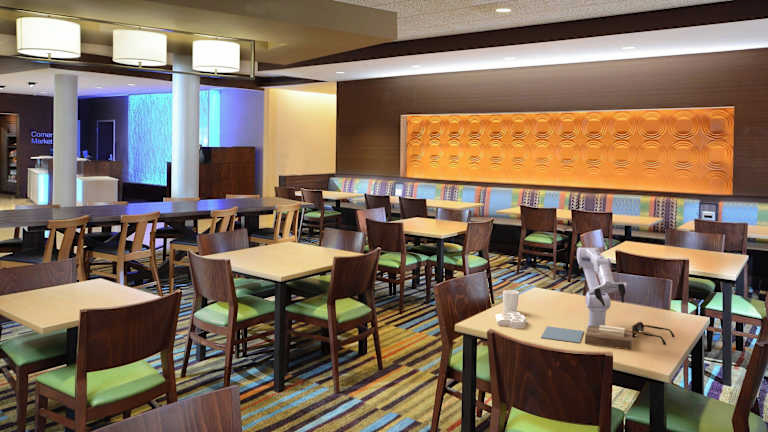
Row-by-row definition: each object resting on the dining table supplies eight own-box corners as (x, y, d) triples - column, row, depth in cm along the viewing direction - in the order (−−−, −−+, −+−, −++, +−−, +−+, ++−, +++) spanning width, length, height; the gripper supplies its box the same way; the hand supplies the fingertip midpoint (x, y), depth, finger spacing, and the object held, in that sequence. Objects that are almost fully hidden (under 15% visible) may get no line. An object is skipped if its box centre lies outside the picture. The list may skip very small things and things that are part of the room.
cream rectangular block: (599, 329, 263) (599, 325, 263) (624, 332, 260) (624, 328, 259) (598, 333, 257) (598, 329, 257) (623, 337, 253) (624, 332, 253)
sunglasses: (665, 345, 255) (666, 334, 254) (628, 338, 265) (629, 327, 264) (674, 338, 266) (675, 327, 265) (638, 331, 275) (639, 320, 275)
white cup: (518, 309, 307) (519, 290, 306) (517, 313, 299) (518, 294, 298) (502, 308, 309) (503, 289, 308) (501, 312, 302) (502, 292, 300)
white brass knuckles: (494, 317, 294) (525, 318, 292) (498, 328, 276) (530, 329, 274) (494, 310, 293) (525, 312, 292) (498, 321, 275) (531, 322, 274)
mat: (547, 327, 278) (547, 326, 278) (583, 331, 272) (583, 330, 272) (541, 338, 261) (541, 337, 261) (579, 343, 255) (579, 342, 255)
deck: (587, 332, 270) (588, 325, 270) (631, 338, 263) (631, 330, 263) (584, 343, 255) (585, 335, 255) (630, 349, 248) (631, 341, 248)
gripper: (587, 276, 263) (593, 299, 253) (622, 269, 259) (630, 293, 248) (590, 287, 267) (596, 310, 257) (624, 281, 263) (632, 304, 253)
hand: (613, 302), depth 253 cm, fingers open, 7 cm apart
